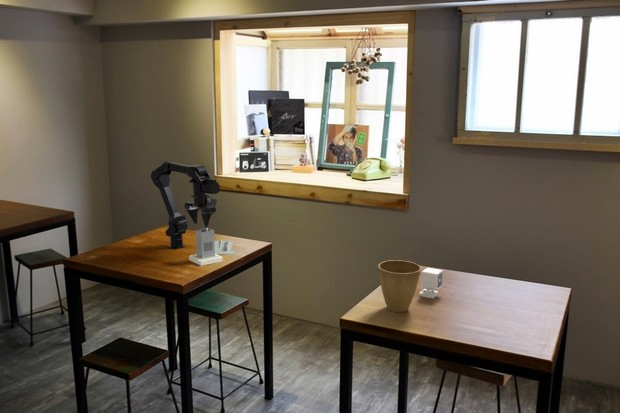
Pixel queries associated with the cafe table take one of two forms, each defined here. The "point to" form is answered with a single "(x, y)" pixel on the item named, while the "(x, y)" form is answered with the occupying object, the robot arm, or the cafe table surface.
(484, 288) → the cafe table surface
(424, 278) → the security camera
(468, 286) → the cafe table surface
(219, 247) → the metal bracket
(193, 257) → the plinth
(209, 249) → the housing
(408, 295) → the plant pot
